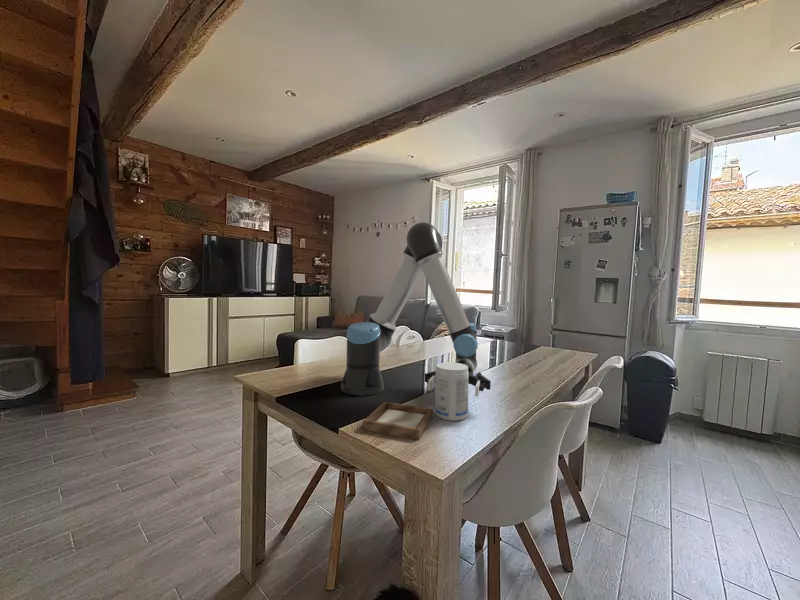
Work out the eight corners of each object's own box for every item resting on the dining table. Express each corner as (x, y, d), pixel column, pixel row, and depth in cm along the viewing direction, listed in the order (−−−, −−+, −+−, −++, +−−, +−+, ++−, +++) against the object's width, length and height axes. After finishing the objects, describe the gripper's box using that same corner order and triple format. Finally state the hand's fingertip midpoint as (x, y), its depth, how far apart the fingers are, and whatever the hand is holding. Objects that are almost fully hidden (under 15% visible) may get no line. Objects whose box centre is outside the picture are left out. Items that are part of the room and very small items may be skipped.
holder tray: (363, 430, 85) (363, 420, 85) (384, 409, 100) (384, 401, 99) (419, 440, 81) (419, 430, 80) (433, 417, 95) (433, 408, 95)
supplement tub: (464, 409, 101) (465, 362, 101) (471, 422, 92) (472, 370, 91) (432, 409, 101) (433, 361, 101) (436, 421, 92) (437, 369, 91)
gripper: (499, 385, 111) (497, 407, 91) (426, 377, 119) (410, 395, 99) (500, 363, 111) (498, 380, 91) (427, 356, 119) (411, 371, 98)
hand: (452, 388), depth 95 cm, fingers open, 13 cm apart
